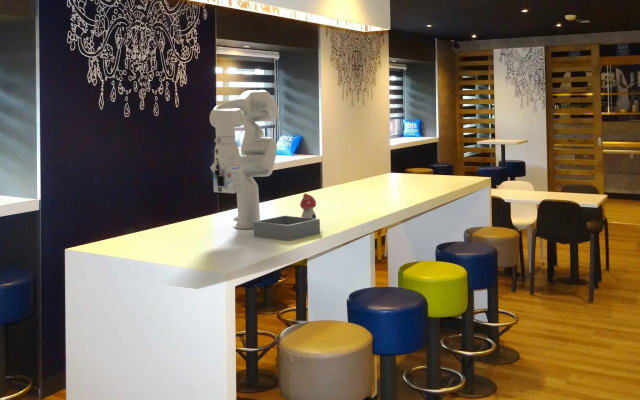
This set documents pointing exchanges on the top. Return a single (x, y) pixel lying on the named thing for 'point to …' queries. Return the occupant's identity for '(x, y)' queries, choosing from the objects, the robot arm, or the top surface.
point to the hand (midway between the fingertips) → (228, 184)
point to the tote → (286, 227)
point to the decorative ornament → (308, 206)
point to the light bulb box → (230, 180)
